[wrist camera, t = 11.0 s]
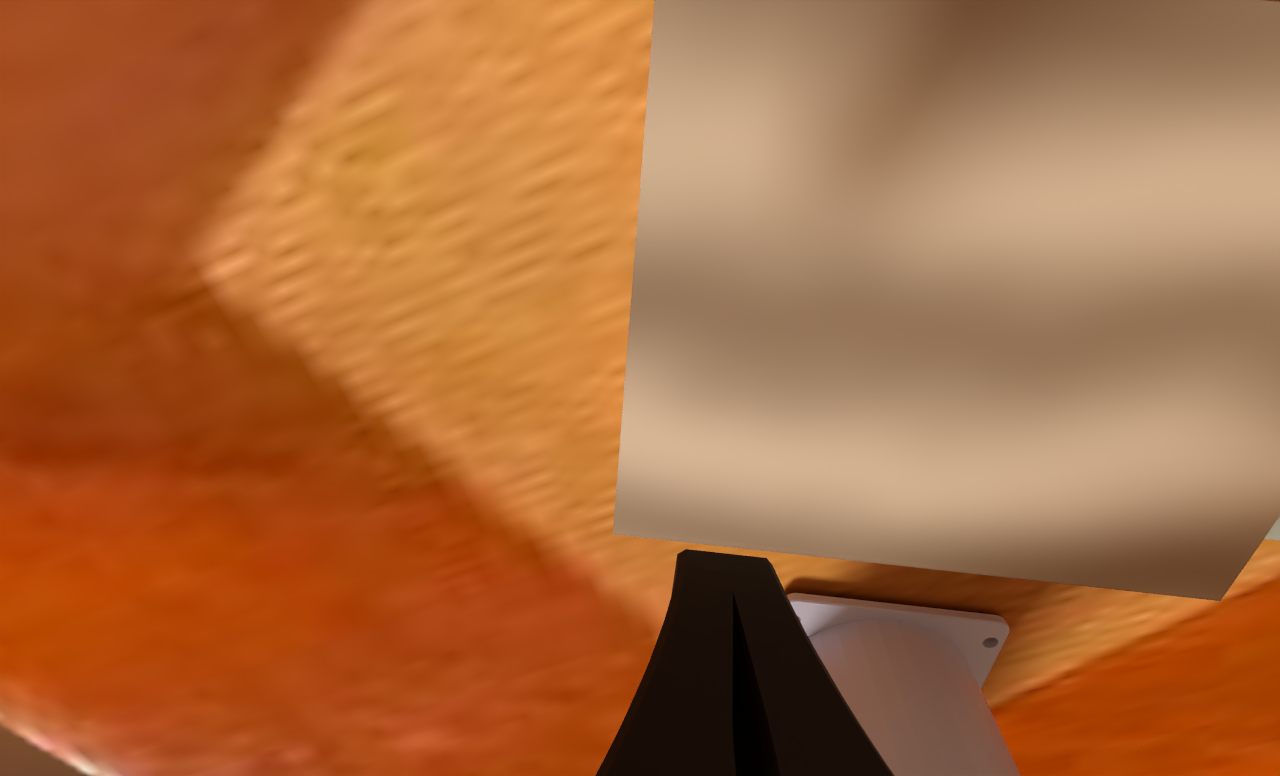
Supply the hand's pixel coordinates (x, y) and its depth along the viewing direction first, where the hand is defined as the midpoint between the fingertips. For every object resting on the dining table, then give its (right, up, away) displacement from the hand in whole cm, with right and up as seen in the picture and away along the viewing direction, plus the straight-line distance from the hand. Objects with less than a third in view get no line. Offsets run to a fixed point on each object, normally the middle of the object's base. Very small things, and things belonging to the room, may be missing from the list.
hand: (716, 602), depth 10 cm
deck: (+7, +6, +7) cm, 12 cm away
